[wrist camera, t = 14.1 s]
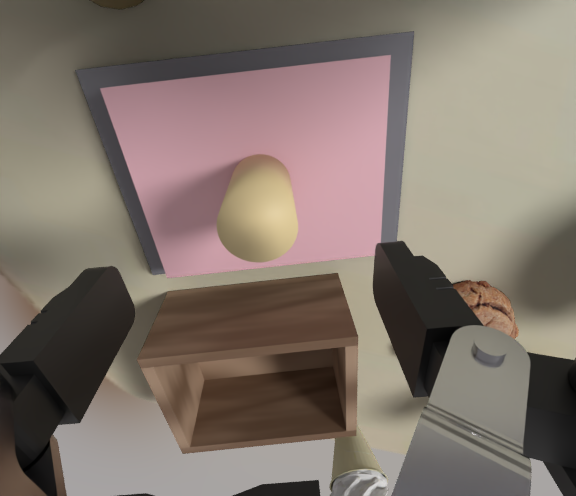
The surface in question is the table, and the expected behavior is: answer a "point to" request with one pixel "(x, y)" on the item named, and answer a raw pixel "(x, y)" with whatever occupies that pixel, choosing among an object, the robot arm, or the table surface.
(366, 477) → the ice cream cone
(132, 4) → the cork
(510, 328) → the cookie
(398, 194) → the mat
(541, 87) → the table surface
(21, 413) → the robot arm
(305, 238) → the lid
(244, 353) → the box
